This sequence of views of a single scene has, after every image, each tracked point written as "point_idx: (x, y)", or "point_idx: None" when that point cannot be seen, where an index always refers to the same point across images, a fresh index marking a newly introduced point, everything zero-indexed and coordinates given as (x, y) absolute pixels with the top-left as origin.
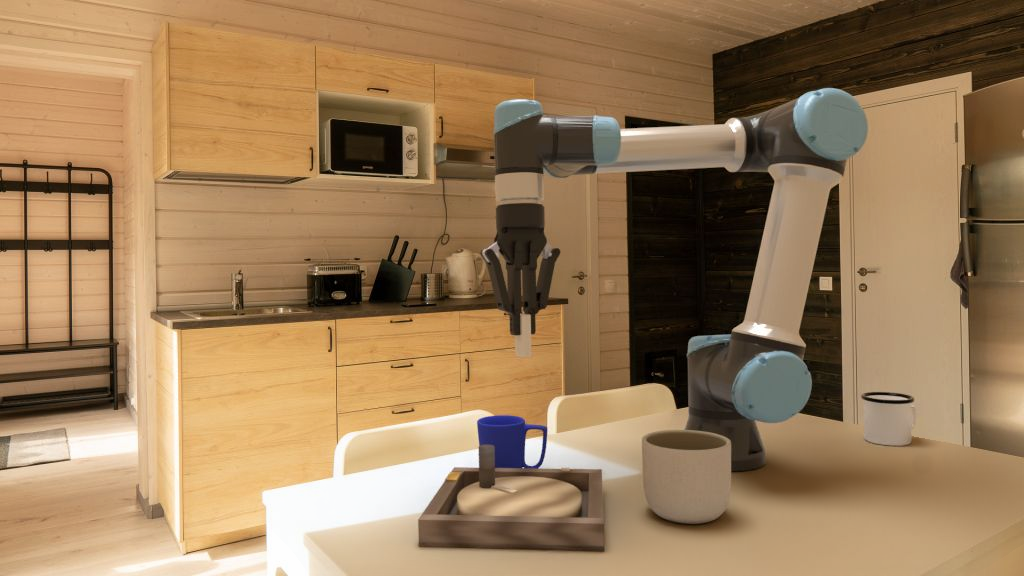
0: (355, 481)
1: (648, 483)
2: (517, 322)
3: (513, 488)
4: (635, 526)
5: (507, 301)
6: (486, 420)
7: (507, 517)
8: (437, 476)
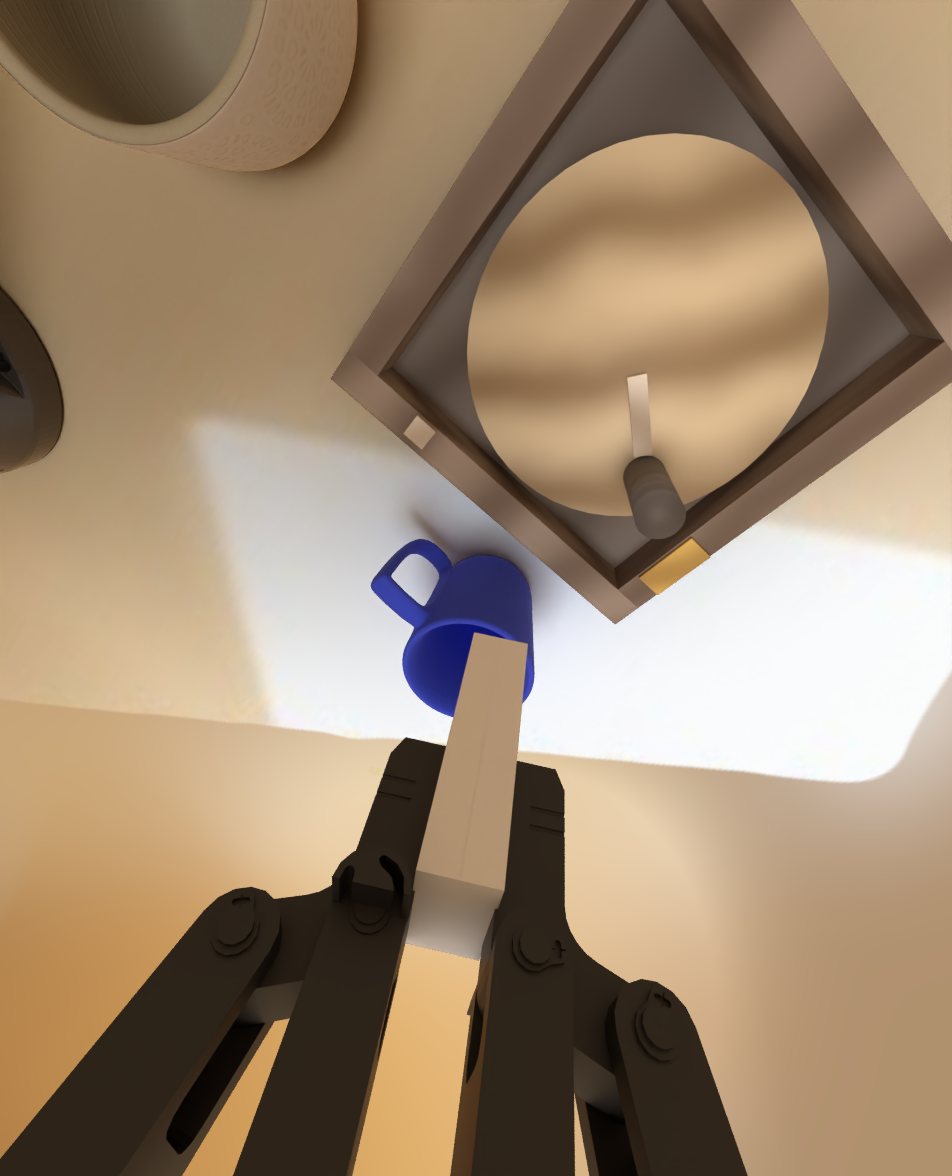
0: (724, 740)
1: (339, 18)
2: (529, 850)
3: (609, 414)
4: (444, 42)
5: (662, 1113)
6: None
7: (840, 167)
8: (586, 673)
